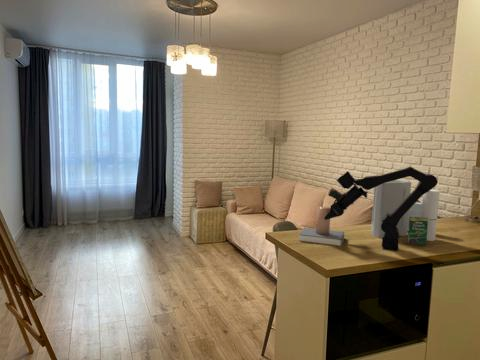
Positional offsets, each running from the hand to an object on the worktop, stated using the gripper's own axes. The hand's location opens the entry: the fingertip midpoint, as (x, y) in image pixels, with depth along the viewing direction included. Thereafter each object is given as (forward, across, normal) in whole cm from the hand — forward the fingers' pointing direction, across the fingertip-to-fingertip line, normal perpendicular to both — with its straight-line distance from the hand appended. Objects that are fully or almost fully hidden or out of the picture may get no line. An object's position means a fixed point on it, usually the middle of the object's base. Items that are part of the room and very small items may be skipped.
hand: (326, 217), depth 174 cm
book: (+9, 0, +7) cm, 12 cm away
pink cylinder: (+7, 0, +5) cm, 8 cm away
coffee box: (-21, -13, +38) cm, 45 cm away
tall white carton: (-10, -28, +27) cm, 40 cm away
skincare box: (-19, -41, +36) cm, 58 cm away
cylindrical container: (-25, -26, +42) cm, 55 cm away
